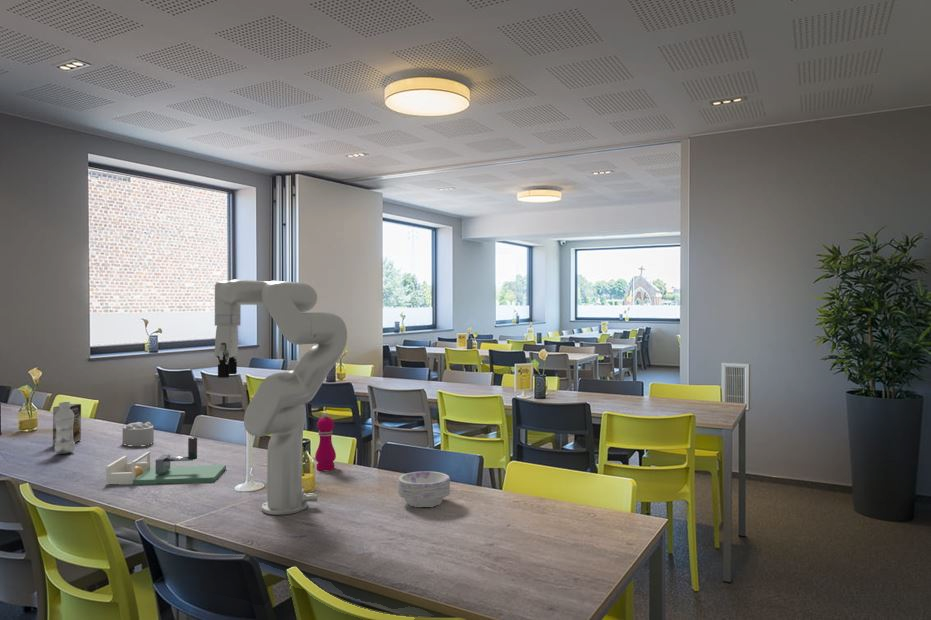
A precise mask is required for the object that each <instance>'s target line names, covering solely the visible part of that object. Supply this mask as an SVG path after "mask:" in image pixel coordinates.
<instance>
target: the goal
mask: <svg viewBox="0 0 931 620" xmlns="http://www.w3.org/2000/svg"><path fill="white" fill-rule="evenodd" d="M145 458H146V461H143V462H140V461H142V460H143V459H145ZM135 466H139V467H141V468H142V469H143V473H144V472H145V471H147V470H148V469H150V468H151V451H147V452H144V453H143V454H142V455H141V456H139V457H138V458H136V459H133V460H132V461H131V462H128V455H123V456H122V457H120V458H118V459H116V460H115V461H113V462H112V463H110V464H108V465H106V467H105V485H107V486H110V485H109V484H119V485H133V480H134V479H135ZM131 468H132V472H130V470H131Z"/></svg>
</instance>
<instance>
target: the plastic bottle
mask: <svg viewBox="0 0 931 620" xmlns="http://www.w3.org/2000/svg"><path fill="white" fill-rule="evenodd" d="M70 404H71V402H70V401H62V402H58V406H59V408H60V409H59V410H58V412H57V413H56V414H55V417H54V418H55V424H56V443H55V446H54V452H55V454H57V455H67V454H71V453H73V452H74V451H75V447H76V443H74V439H73V423H74V413H73V412H72V410H71V409H70V407H71V406H70Z"/></svg>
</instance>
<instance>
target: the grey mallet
mask: <svg viewBox="0 0 931 620" xmlns="http://www.w3.org/2000/svg"><path fill="white" fill-rule="evenodd" d="M187 447H188V448H187V450H188V451H187V454H188V455H187V456H171V454H162V455H161V456H159V457H158V458H156V459H155V467H156V474H164V473H165V472H167V471H168V470H169V469H170V467H171V462H193V461H195V460H197V459H198V437H196V436H193V437H191V436H190V437H189V438H188V439H187Z"/></svg>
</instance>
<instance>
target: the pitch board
mask: <svg viewBox="0 0 931 620" xmlns="http://www.w3.org/2000/svg"><path fill="white" fill-rule="evenodd" d="M225 469H227V464H216V465H213V464H212V465H211V464H210V465H188V466H187V465H185V466H183V465H182V466H170V469H169V470H168V471H167V472H165V473H164V474H156V466H154V467H153V466H152V467H151V466H150V469H148V470H147V471H145V472H144V473H143V474H141V475H140V476H138V477H137V478H135V479H134V480H133V484H132V485H133V486H134V484H143V485H158V484H157V483H171V484H193V482H199V483H214V482H215V481H216V480H217V479H218V478H219V477H220V476H221V475H222V474H223V473H224V472H225V471H226V470H225ZM224 470H225V471H224ZM223 471H224V472H223Z"/></svg>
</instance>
